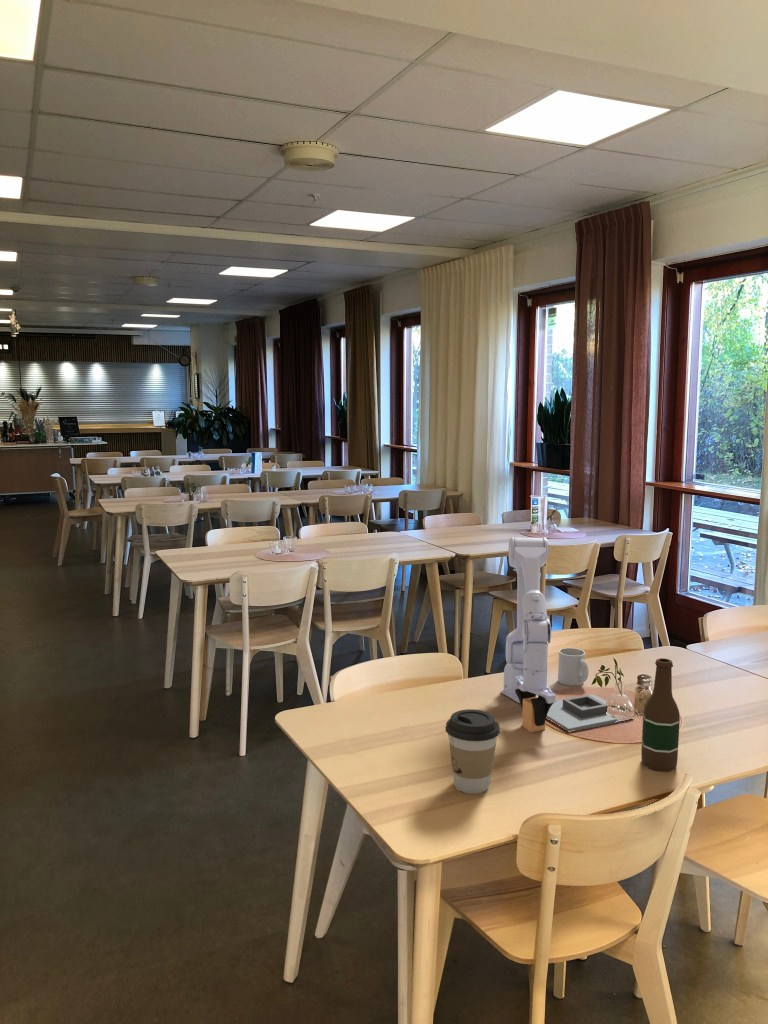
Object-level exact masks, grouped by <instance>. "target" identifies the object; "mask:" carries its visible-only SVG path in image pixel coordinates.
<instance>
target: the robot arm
mask: <svg viewBox="0 0 768 1024" xmlns="http://www.w3.org/2000/svg"><path fill="white" fill-rule="evenodd" d="M548 558H549V541H548V539H547V537H544V536H543V537H514V536H511V537H510V538H509V541H508V564H509V567H511V568H514V569H515V571H516V574H517V576H516V577H517V578H516V579H517V583H516V585H517V586H516V588H517V589H516V595H517V596H516V598H517V599H516V628H515V629H514V630H512V631H511V632H509V633H508V634H507V635H506V641H505V660H506V664H505V666H504V668H503V669H504V670H503V689H501V690H500V693H502V694H503V695H505V696H507V697H508V698H509V699H511V700H512V701H514V702H516V703H518V704H520V707H521V712H523V699H525V698H530V697H536V696H537V697H538V698H532V699H531V702H532V705H533V708H534V715H535V724H536V726H542V725H544V723H545V724H546V720H547V719H546V717H547V714H548V711H549V709H550V707H551V706H552V704H553V703H555V701H557V700H556V698H557V697H556V696H557V695H556V694H555V693H554V692H553V691H552V690H551V688H550V687H549V686H548V684H547V683H548V660H549V659H548V657H549V656H548V653H549V644H550V643H551V639H552V627H551V626H552V625H551V621H550V617H549V615H548V612H547V604H546V603H547V602H546V595H544V594H543V593H542V592H541V568H543V566H545V564H546V562H547V560H548Z"/></svg>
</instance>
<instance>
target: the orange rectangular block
mask: <svg viewBox="0 0 768 1024" xmlns="http://www.w3.org/2000/svg"><path fill="white" fill-rule="evenodd" d="M532 698H538V697H537V696H536V697H530V698H525V699H523V712H522V711H521V712H522V716H521V717H522V718H521V719H522V721H521V726H522V727H523V728H524V729H526V730H528V731H529V732H530V733H533V732H539V731H543V730H546V722H545V723H544V725H542V726H536V724H535V715H534V708H533V705H532V702H531V699H532Z"/></svg>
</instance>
